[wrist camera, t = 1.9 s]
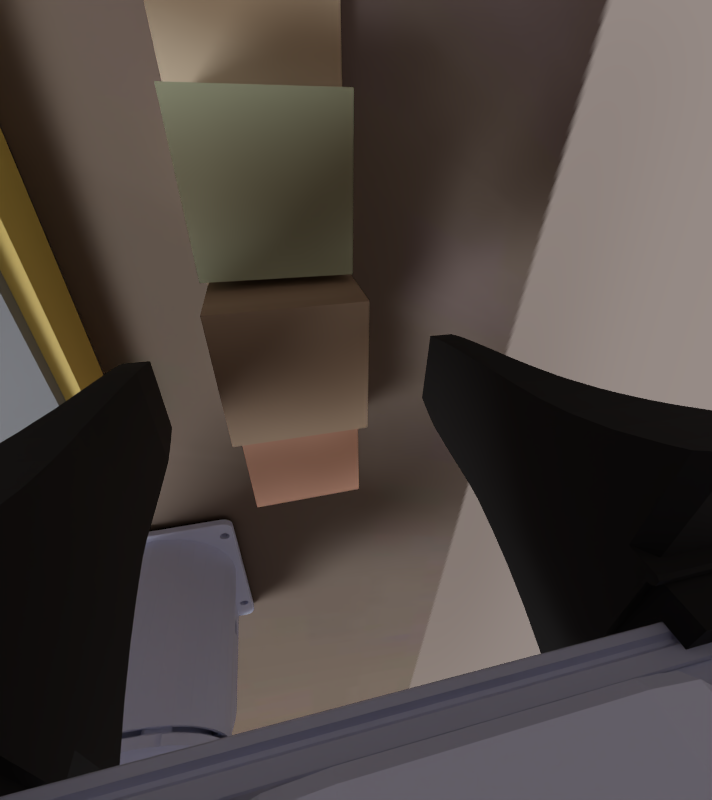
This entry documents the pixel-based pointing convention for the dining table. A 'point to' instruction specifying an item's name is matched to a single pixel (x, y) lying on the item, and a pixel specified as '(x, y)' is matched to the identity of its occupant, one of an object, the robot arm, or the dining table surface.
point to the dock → (34, 315)
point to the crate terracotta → (303, 467)
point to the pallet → (247, 41)
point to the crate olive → (263, 177)
